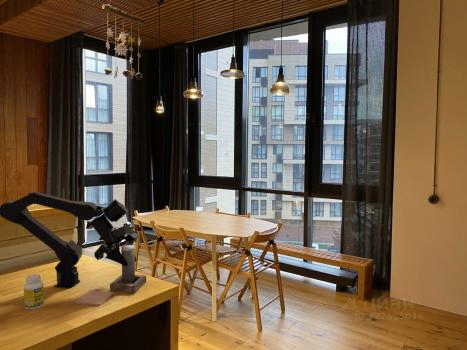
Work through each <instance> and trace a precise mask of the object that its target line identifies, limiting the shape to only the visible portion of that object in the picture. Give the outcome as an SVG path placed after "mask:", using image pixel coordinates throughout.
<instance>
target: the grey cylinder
mask: <svg viewBox="0 0 467 350" xmlns="http://www.w3.org/2000/svg"><path fill="white" fill-rule="evenodd" d="M120 248H121V250H120V253H121V254H122V255H123V257H124V258H125V260H126V261H127V263H128V265H127V266H124V265H122V264H121V275H122V282H123V283H126V284H132V283H131V282H134V281H135V275H136V266H135V265H136V264H135V263H136V262H135V257H136V254H135V245H134V244H133V245H125V246H122V247H121V246H120Z"/></svg>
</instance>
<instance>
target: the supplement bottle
mask: <svg viewBox="0 0 467 350" xmlns="http://www.w3.org/2000/svg"><path fill="white" fill-rule="evenodd" d="M25 281H26V283H25V284H24V285H23V304H24V309H26V310H36V309H39V308H42V307H43V306H44V304H45V301H44V300H45V298H44V297H45V295H44V294H45V293H44V282H43V281H42V280H41V274H37V273H34V274H30V275H27V276H26V277H25Z"/></svg>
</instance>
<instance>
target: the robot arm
mask: <svg viewBox="0 0 467 350" xmlns="http://www.w3.org/2000/svg"><path fill="white" fill-rule="evenodd" d="M32 205H39V206H41V207H46V208H50V209H53V210H58V211H62V212H67V213H68V214H71V215H72V216H74V217H75V218H78V219H81V220H83V221H86V226H85V229H86V230H92V229H93V230H94V231H95V232H96V233H97V235H98V236H99V238H98V240H99V241H100V242H102V241H103V242H104V243H103V244H101V245H99V247H97V249H96V250H95V251H94V253H93V254H94V258H95V259H96V260H97V261H99V260H101V259H103V258H104V259H106V260H107V259H108V260H110V261H113V262H115V263H117V264H120V265H121V266H122V265H124V266H127V265H128V263H127V261H126V260H125V258H124V257H123V255H122V253H121V250H120V248H121V247H122V246H125V245H133V246H134V243H135V242H136V241H137V240H138V239H139V237H140V236H139V235H138V234H137V232H133V230H134V225H133V224H132V223H131V222H130V221H127V222H125V223H123V226H120V227H118V226H114V225H113V224H112V223H114V222H115V223H117V222H119V220H121V219H122V218H123V217H124V216H125V215H127V214H128V213H129V210H128V208H127V207H126V206H125V204H122V203H121V202H120V201H118V199H116V198H114V200H112V202H110V203H109V204H108V205H107V206H99V205H97V204H96V203H94V202H91V201H83V200H82V201H80V200H79V201H76V200H71V199H70V200H69V199H66V198H62V197H58V196H54V195H51V194H46V193H43V192H40V191H37V190H35V191H32V192H30V193H28V194H27V195H26V196H23V197H22V198H19V199H12V200H9V201H7V202H4V203H2V204H1V205H0V217H1V218H2V219H4V220H6V221H8V222H10V223H11V224H16V225H19V226H20V227H23V228H24V229H25V230H26V231H28V232H29V233H30V234H31V235H33V236H34V237H35V238H37V239H38V240H39V241H40V242H42V243H43V244H44V245H46V246H47V247H48V248H50V249H51V250H53V252H54V253H55V256H56V258H57V259H58V260H59V262H58V263H57V264H56V265H55V267H54V270H55V272H56V284H55V285H54V286H53V287H54V288H65V289H70V288H73V287H74V286H76V285H77V284H78V283H80V282H81V280H80V279H79V271H78V266H76V265H77V264H78V262H79V261H80V259H81V258H82V256H83V250H82V249H81V245H78V244H77V243H76V242H75V240H73V239H71V240H69V242H68V241H66V240H63V239H62V238H61V237H59V236H58V235H57V234H56V233H55V232H53V231H52V230H50V229H49V228H48V227H47V226H45V225H44V224H43V223H42V222H40V221H39V220H37V219H36V218H35V217H34V216H33V215H32V213H31V212H30V210H29V208H28V207H30V206H32ZM90 220H91V221H90ZM104 255H106V256H104ZM136 262H137V257H136V256H135V263H136Z"/></svg>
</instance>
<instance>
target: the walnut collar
mask: <svg viewBox="0 0 467 350" xmlns="http://www.w3.org/2000/svg"><path fill="white" fill-rule="evenodd" d="M146 283H147V275H141V274H135V281H134V282H131V283H123V282H122V274H121V275H119V276H118V277H117V278H116V279H115V280H113V281H112V282H111V283H110V284H109V292H119V293H130V294H131V293H133V294H137V292H138V291H139V290H140V289H142V287H143V286H144V285H145V284H146Z"/></svg>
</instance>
